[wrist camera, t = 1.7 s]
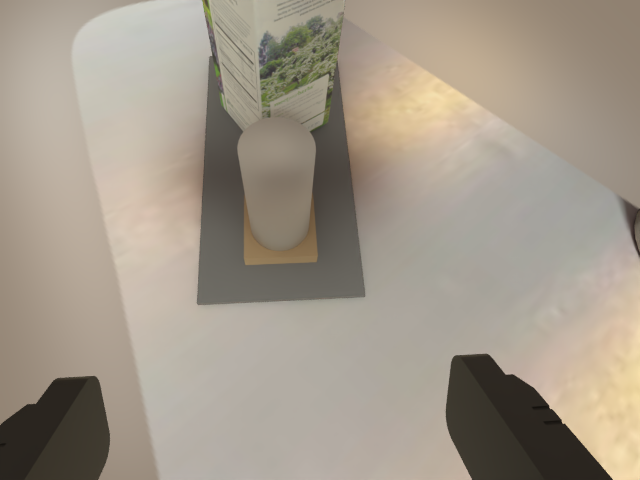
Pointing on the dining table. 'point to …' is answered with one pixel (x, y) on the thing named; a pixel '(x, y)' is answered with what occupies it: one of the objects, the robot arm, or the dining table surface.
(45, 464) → the robot arm
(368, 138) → the dining table surface
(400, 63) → the dining table surface
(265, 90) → the syrup box
